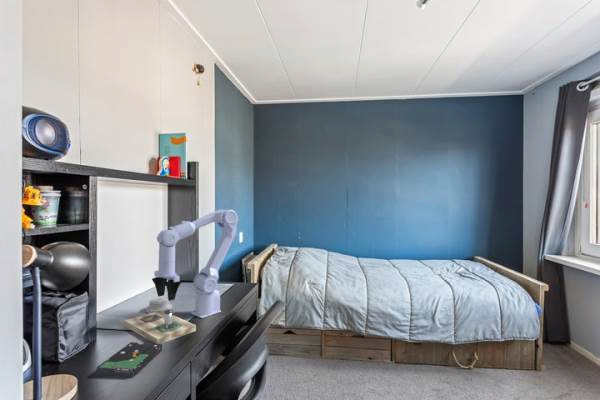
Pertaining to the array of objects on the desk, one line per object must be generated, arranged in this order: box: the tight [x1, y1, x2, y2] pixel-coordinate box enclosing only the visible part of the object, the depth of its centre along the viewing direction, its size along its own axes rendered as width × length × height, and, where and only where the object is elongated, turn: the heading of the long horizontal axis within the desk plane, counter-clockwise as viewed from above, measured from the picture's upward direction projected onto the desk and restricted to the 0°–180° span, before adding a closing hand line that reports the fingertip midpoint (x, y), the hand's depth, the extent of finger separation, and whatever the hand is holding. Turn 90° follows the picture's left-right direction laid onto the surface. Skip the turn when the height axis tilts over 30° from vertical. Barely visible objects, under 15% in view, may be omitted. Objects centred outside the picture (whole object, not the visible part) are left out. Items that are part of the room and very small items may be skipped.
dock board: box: [123, 310, 197, 345], centre depth 109 cm, size 14×24×2 cm, turn 53°
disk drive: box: [95, 341, 163, 379], centre depth 86 cm, size 10×3×15 cm
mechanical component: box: [145, 296, 173, 314], centre depth 129 cm, size 10×4×10 cm
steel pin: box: [164, 308, 174, 330], centre depth 106 cm, size 3×3×8 cm
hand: (166, 297), depth 115 cm, fingers open, 7 cm apart
